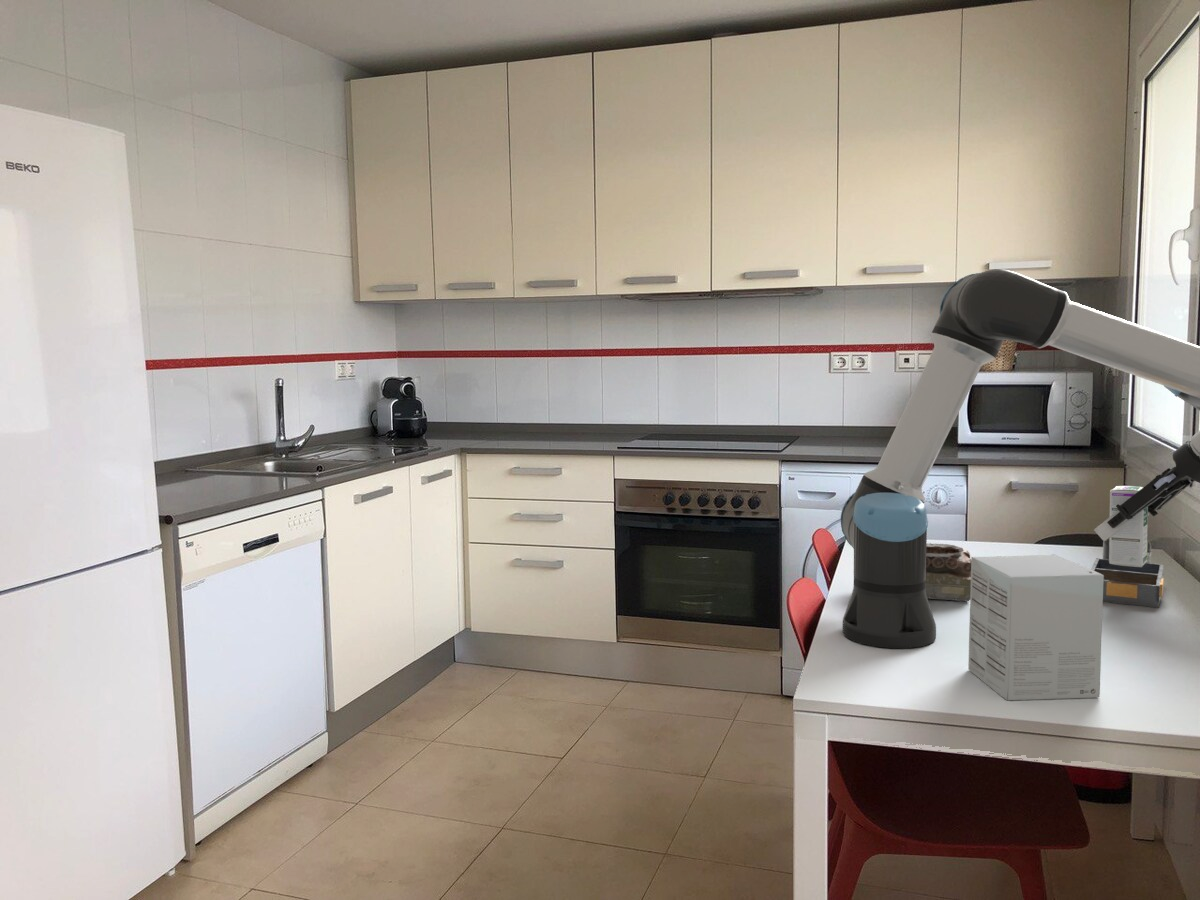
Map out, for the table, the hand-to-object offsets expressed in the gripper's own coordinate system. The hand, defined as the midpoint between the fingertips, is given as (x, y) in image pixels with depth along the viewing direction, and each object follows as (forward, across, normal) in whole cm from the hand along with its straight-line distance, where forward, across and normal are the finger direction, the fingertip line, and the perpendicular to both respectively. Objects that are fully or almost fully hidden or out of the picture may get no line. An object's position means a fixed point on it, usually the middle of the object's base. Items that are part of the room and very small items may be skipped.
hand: (1108, 532), depth 183 cm
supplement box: (-2, -58, -20) cm, 61 cm away
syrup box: (+2, 0, -6) cm, 7 cm away
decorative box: (+24, -29, +7) cm, 38 cm away
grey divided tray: (+8, +4, -10) cm, 13 cm away
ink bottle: (+13, +21, -5) cm, 25 cm away
